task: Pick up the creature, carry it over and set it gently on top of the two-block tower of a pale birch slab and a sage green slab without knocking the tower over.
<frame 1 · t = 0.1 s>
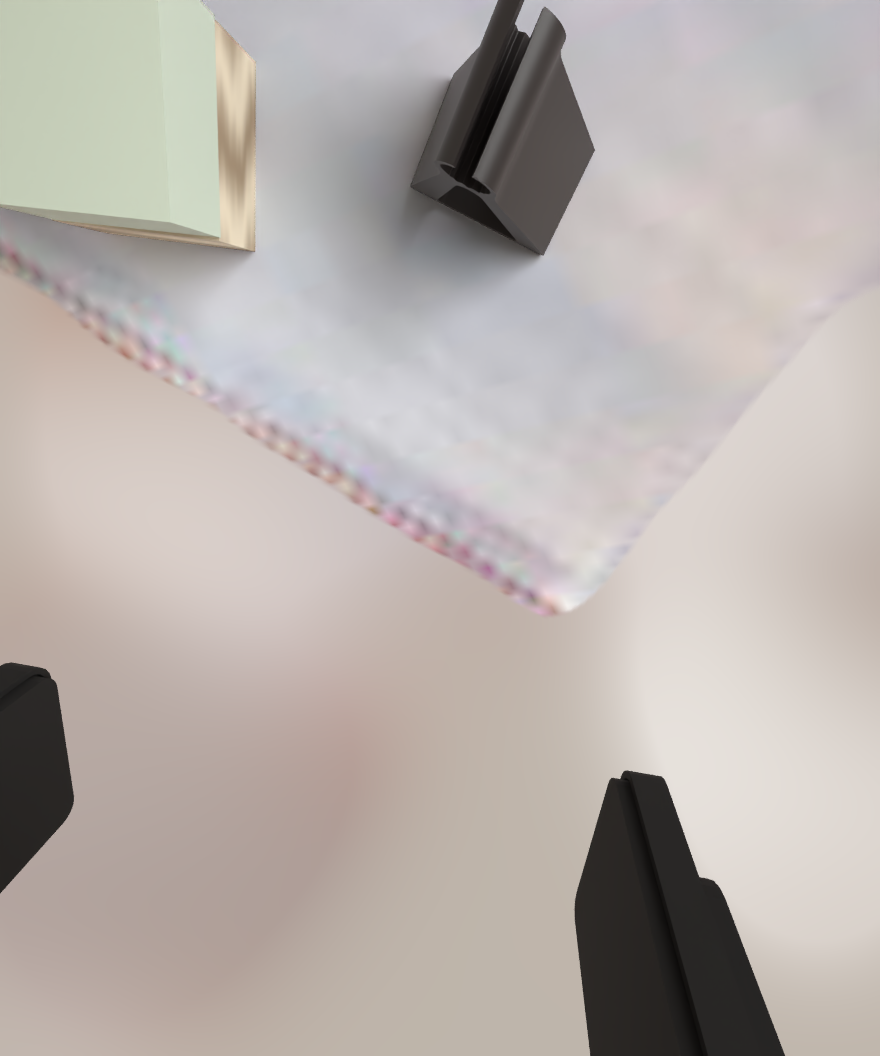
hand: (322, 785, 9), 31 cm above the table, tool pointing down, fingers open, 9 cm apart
phone stand: (500, 171, 33), on the table
tower top: (128, 124, 30), point 5 cm above the table, touching tower base
tower base: (179, 153, 35), on the table, touching tower top
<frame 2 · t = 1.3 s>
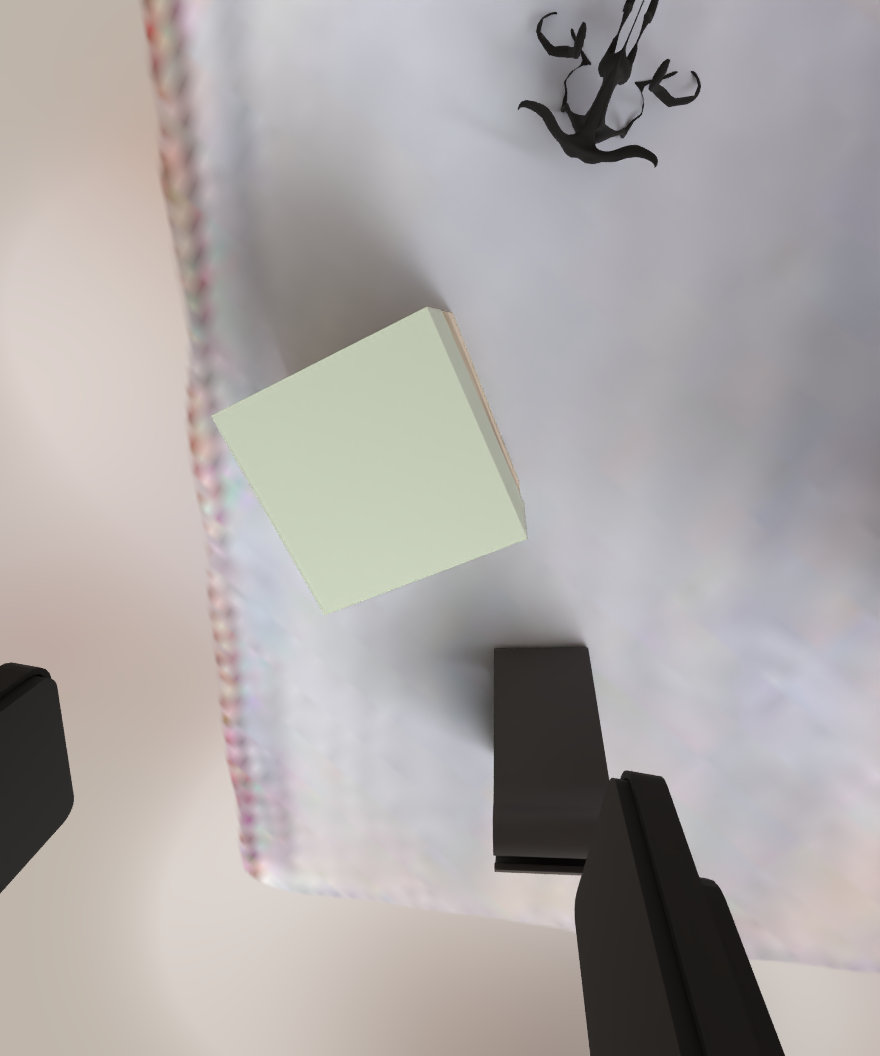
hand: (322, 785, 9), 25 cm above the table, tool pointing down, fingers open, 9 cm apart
creature: (607, 86, 26), on the table
phone stand: (541, 701, 38), on the table
tower top: (393, 452, 28), point 5 cm above the table, touching tower base
tower base: (407, 433, 33), on the table, touching tower top
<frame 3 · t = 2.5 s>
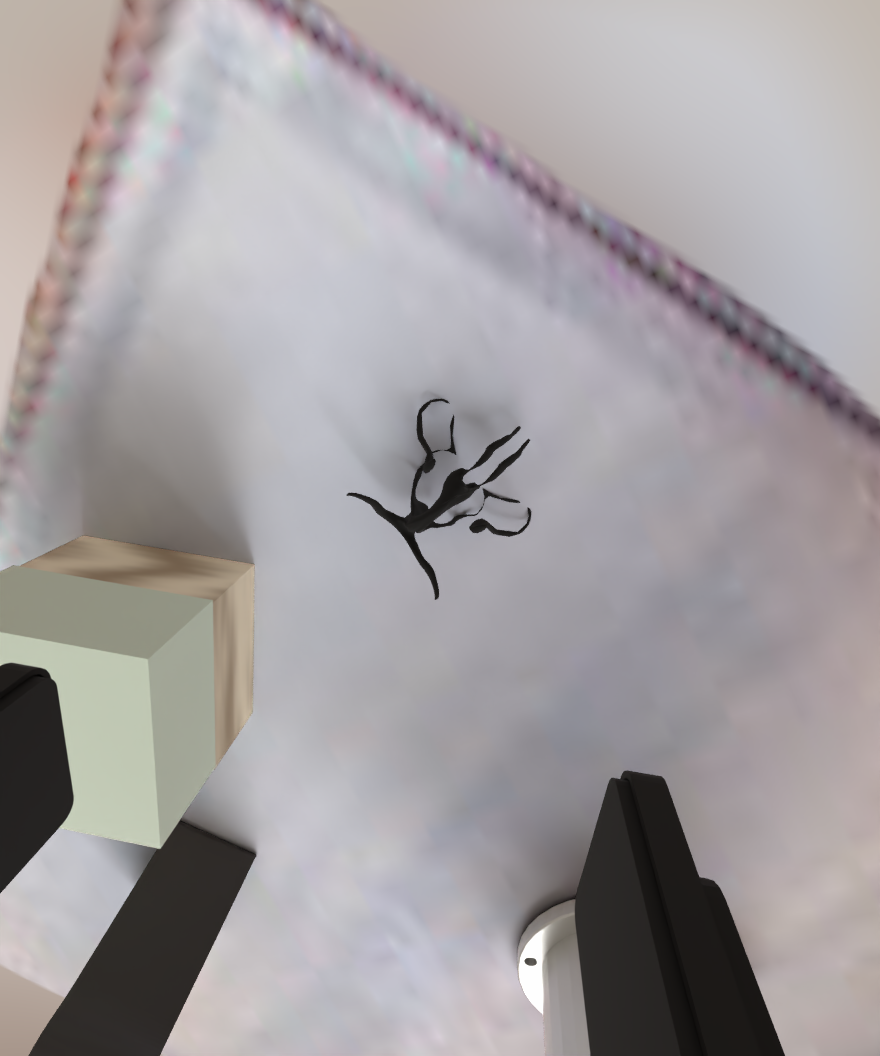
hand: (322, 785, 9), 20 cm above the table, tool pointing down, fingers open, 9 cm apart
creature: (463, 474, 28), on the table
phone stand: (201, 873, 40), on the table
tower top: (119, 671, 28), point 5 cm above the table, touching tower base
tower base: (173, 625, 33), on the table, touching tower top
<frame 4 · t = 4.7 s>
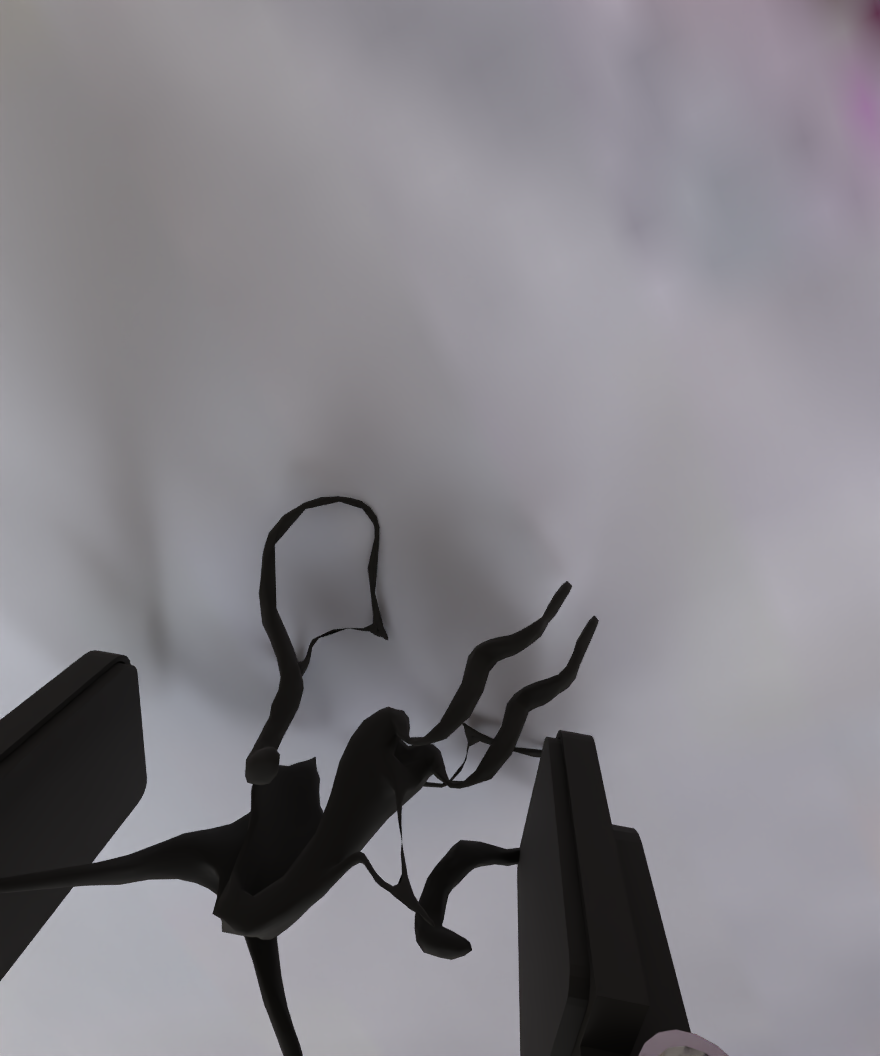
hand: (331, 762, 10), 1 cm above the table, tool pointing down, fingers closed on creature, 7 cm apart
creature: (412, 681, 11), on the table, touching gripper
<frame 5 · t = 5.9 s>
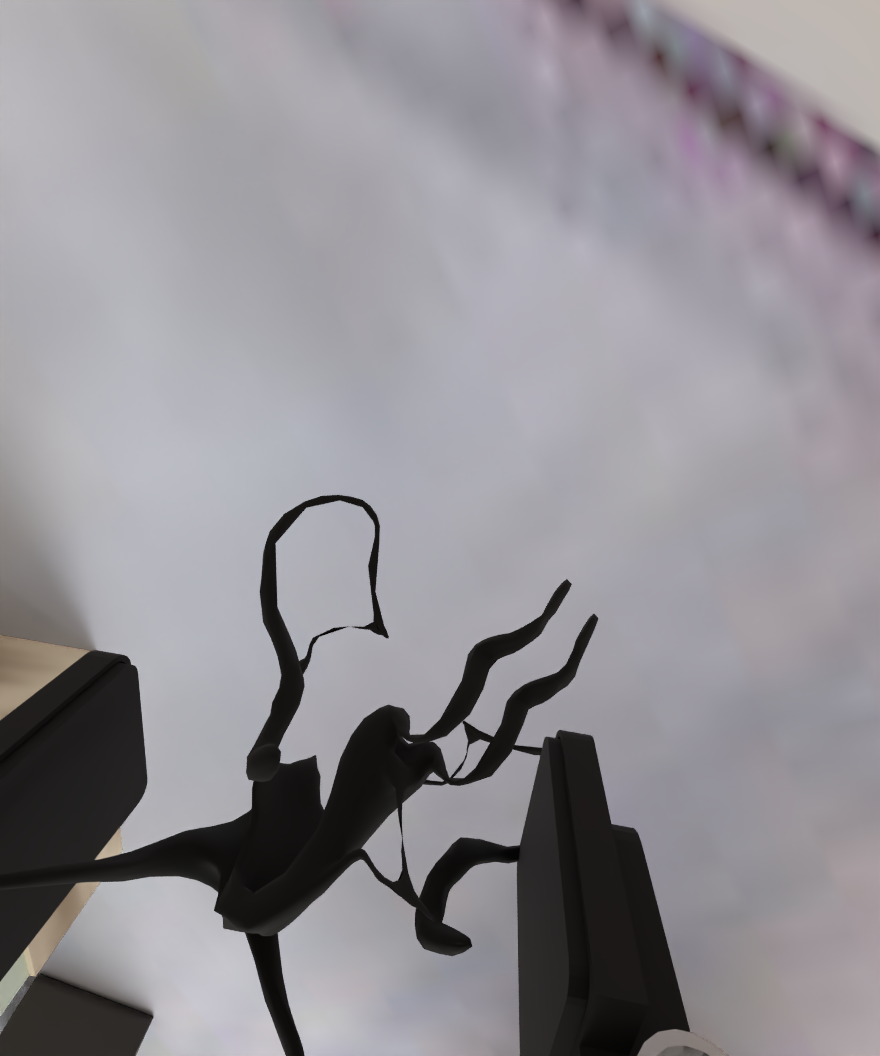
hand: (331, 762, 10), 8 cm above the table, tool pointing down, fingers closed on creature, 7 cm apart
creature: (412, 679, 11), point 6 cm above the table, touching gripper
phone stand: (85, 1031, 29), on the table
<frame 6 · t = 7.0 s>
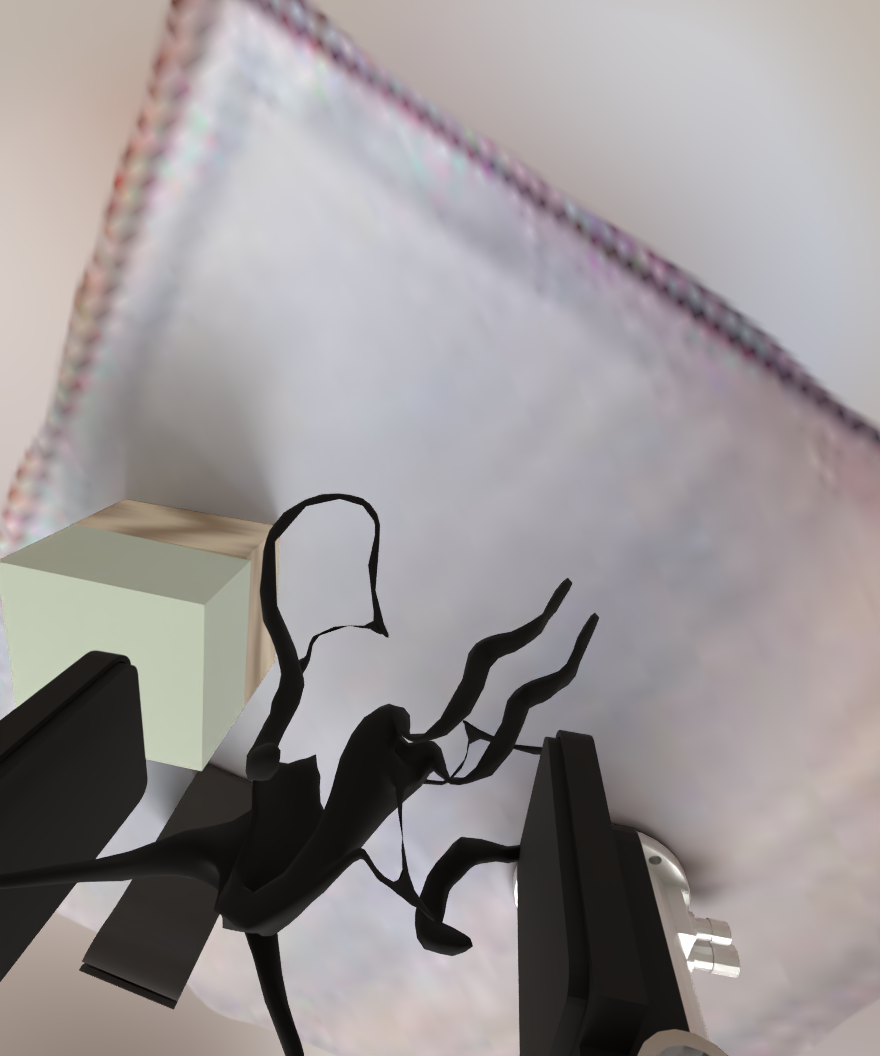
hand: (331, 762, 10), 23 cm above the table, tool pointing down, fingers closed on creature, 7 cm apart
creature: (412, 678, 11), point 22 cm above the table, touching gripper
phone stand: (226, 812, 44), on the table
tower top: (163, 621, 32), point 5 cm above the table, touching tower base
tower base: (205, 582, 37), on the table, touching tower top
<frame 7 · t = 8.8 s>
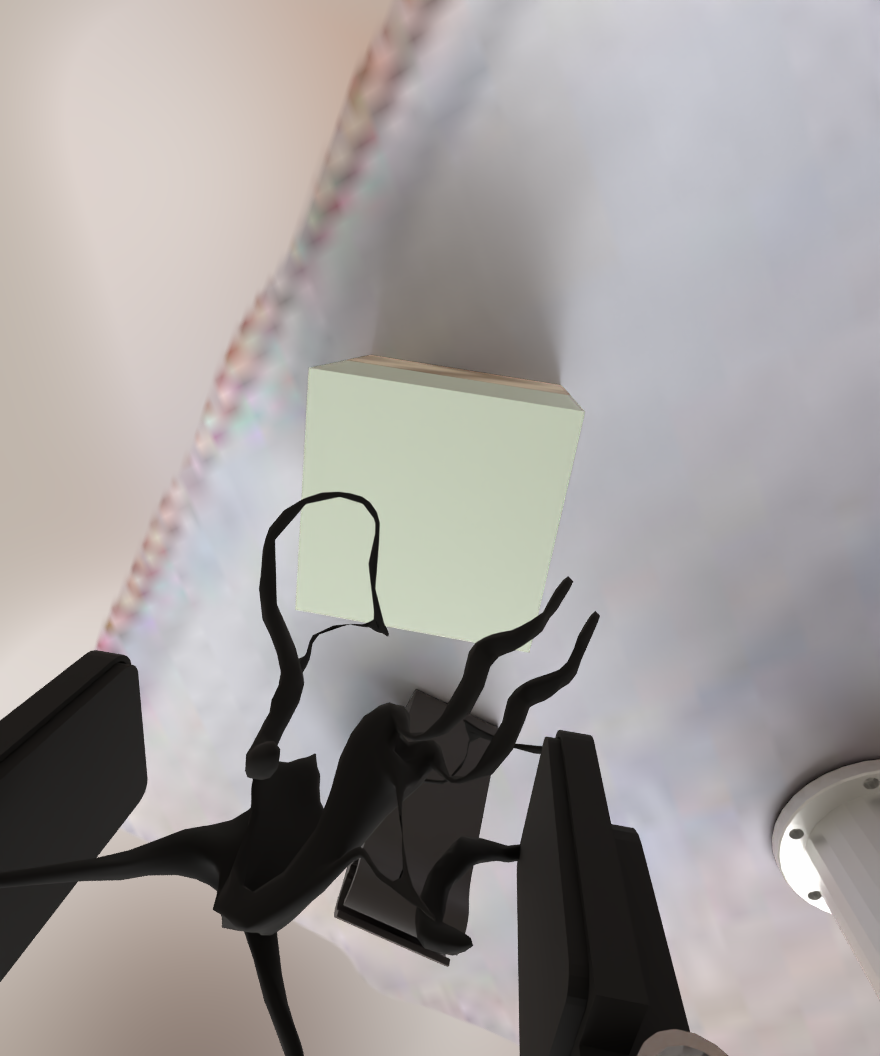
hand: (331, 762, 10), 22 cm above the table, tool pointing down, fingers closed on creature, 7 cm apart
creature: (412, 677, 11), point 21 cm above the table, touching gripper
phone stand: (430, 751, 38), on the table
tower top: (440, 485, 26), point 5 cm above the table, touching tower base
tower base: (451, 461, 31), on the table, touching tower top
when the fingers open (12 cm above the table, at t = 11.0 s): creature drops 1 cm, resting on tower top.
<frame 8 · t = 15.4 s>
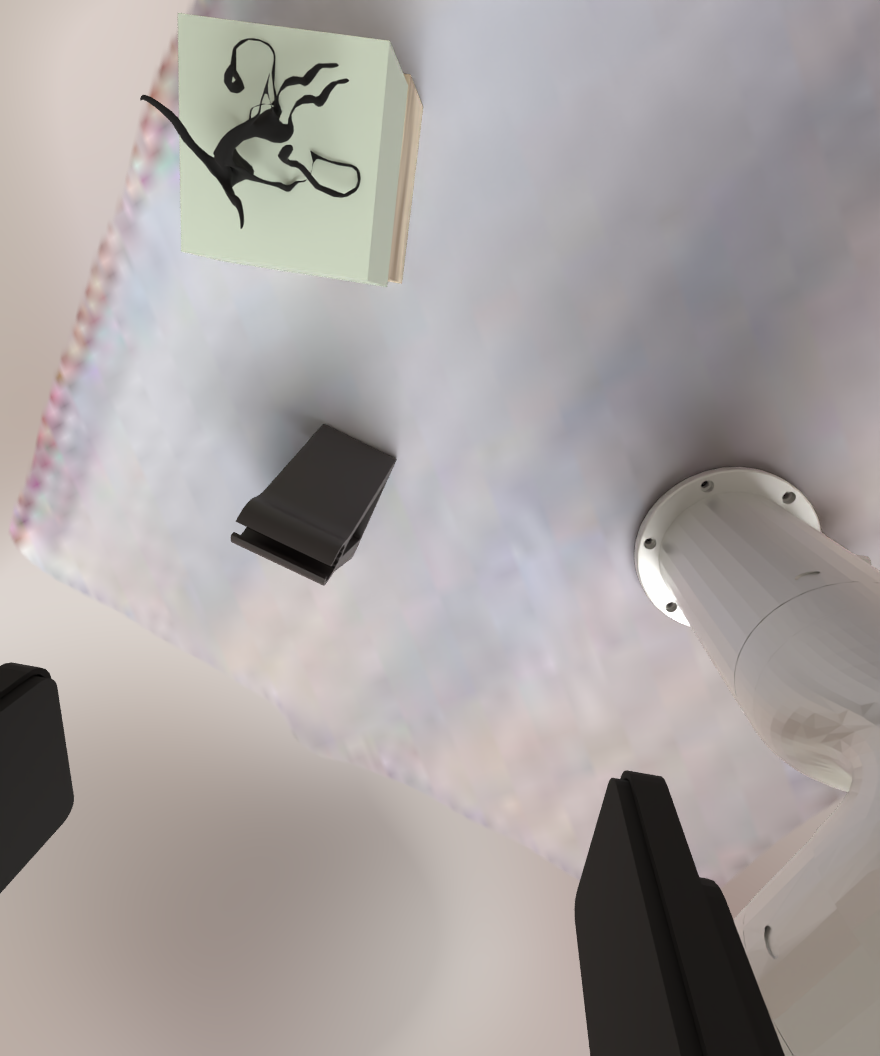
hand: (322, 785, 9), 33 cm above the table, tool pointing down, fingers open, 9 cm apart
creature: (291, 138, 27), point 9 cm above the table, touching tower top
phone stand: (340, 491, 43), on the table
tower top: (311, 179, 32), point 5 cm above the table, touching creature, tower base
tower base: (337, 189, 36), on the table, touching tower top
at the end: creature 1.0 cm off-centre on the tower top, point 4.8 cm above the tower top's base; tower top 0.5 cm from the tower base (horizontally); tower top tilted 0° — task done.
